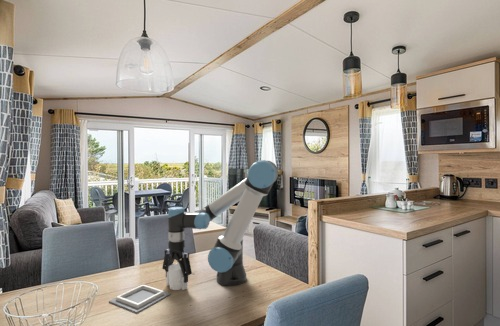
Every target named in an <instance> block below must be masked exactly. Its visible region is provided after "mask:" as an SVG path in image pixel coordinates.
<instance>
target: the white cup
mask: <svg viewBox="0 0 500 326" xmlns="http://www.w3.org/2000/svg"><path fill="white" fill-rule="evenodd" d="M168 272H169V283H170V285H169V289H170V290H172V291H179V290H182V276H183V273H182V270H181V267H180V265H179V263H178V262H177V263H173V264H172V265H170V266H169V267H168Z"/></svg>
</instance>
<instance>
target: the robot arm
mask: <svg viewBox="0 0 500 326" xmlns="http://www.w3.org/2000/svg"><path fill="white" fill-rule="evenodd" d="M278 177H279V168H278V167H277V165H276V164H275V163H274V162H272V161H270V160H265V159H264V160H263V159H262V160H257V161H255V162H254V163H252V165H251V166H250V167H249V168H248V171H247V177H246V178H244V179H243V180H241V181H240V182H239V183H237V184H235V185H234V186H232V187H231V188H230V189H228V190H227V191H225V192H224V193H223V194H221V195H220V196H218V197H217V198H216V199H214V200H212V201H211V202H210V203H209V204H207V205H206V206H204V207H202V208H201V209H199V210H197V211H195V212H193V211H185V208H184V207H182V206H174V207H171V208H169V209H168V212H167V213H168V215H167V216H168V217H167V221H168V223H167V224H168V233H167V235H168V236H167V237H168V241H167V243H168V246H167V247H168V248H167V249H164V257H163V263H162V268H161V269H162V270H164V271H165V278H166V286H167V287H168V286H170V283H169V272H168V267H169V266H170V265H172V264H174V262H175V261H177V263H179V265H180V267H181V270H182V273H183V276H182V289H181V290H182V291H185V290H186V289H188V283H189V276H190V275H192V273H193V272H192V267H191V262H190V252H185V251H184V249H185V243H186V242H185V233H186V232H185V229H193V230H196V229H197V230H205V229H207V228H209V225H210V222H212V221H213V220H214V219H215V218H217V217H218V216H220V215H221V214H223V213H224V212H225V211H227V210H229V209H230V208H231V207H233V206H234V205H235V204H237V203H238V204H237V205H236V208H235V210H234V212H233V214H232V216H231V218H230V220H229V222H228V225H227V227H226V229H225V231H224V233H221V234H220V235H219V236H218V238H217V239H216V242H215V244H214V246H213V247H212V248H211V249H210V251H209V252H208V254H207V261H208V264H209V266H210V268H211V269H212V270H213V271H215V272H217V273H216V282H217V283H218V284H220V285H221V286H222V285H223V286H230V287H231V286H238V285H241V284H244V283H245V282H246V281H247V273H246V270H245V267H244V264H243V263H244V261H243V260H244V256H243V255H244V253H243V252H244V251H243V249H244V248H243V247H244V244H243V243H244V235H245V234H246V232H247V230H248V227H249V225H250V224H251V222H252V220H253V217H254V215H255V213H256V211H257V209H258V207H259V206H260V203H261V201H262V199H263V198H264V197H265V196H268V195H269V193H270V190H271V189H272V187H273V185H274V183H275V182H276V181H277V179H278Z"/></svg>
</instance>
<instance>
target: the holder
mask: <svg viewBox="0 0 500 326" xmlns="http://www.w3.org/2000/svg"><path fill="white" fill-rule="evenodd" d="M171 295H172V293H171V292H167V291H165V290H162V289H159V288H156V287H153V286H149V285H146V284H141V285H139V286H136V287H134V288H132V289H130V290H128V291H125V292H124V293H121V294H120V295H117V296H116V297H114V298H112V299H109V301H108V303H109V304H112V305H115V306H116V307H119V308H122V309H125V310H127V311H130V312H131V313H135V314H139V313H140V312H142V311H144V310H146V309H148V308H149V307H151V306H153V305H154V304H156V303H158V302H160V301H162V300H164V299H165V298H167V297H170V296H171Z"/></svg>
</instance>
